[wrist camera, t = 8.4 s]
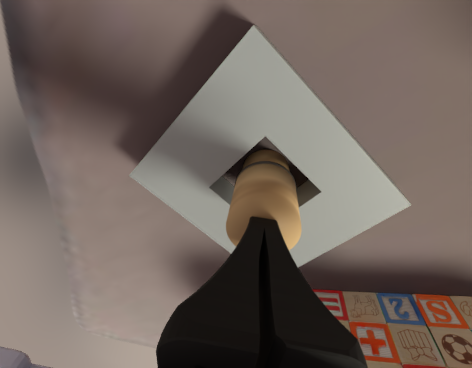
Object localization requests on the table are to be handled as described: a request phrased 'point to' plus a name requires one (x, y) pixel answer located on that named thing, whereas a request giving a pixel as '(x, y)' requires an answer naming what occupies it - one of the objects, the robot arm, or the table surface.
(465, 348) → the stack of blocks
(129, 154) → the table surface
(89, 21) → the table surface
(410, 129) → the table surface
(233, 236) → the peg
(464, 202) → the table surface
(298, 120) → the board
